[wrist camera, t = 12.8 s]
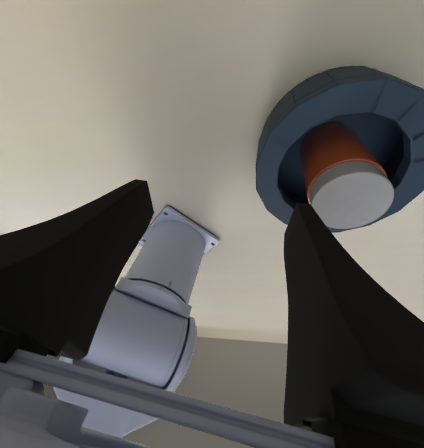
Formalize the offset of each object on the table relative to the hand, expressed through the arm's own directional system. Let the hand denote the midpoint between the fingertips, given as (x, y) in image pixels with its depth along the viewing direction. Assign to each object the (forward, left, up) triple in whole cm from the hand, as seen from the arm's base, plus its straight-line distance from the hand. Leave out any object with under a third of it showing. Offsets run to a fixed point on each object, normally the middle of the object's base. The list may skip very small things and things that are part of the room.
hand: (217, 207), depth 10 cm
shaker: (+4, -6, -9) cm, 12 cm away
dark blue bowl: (+4, -6, -10) cm, 12 cm away
